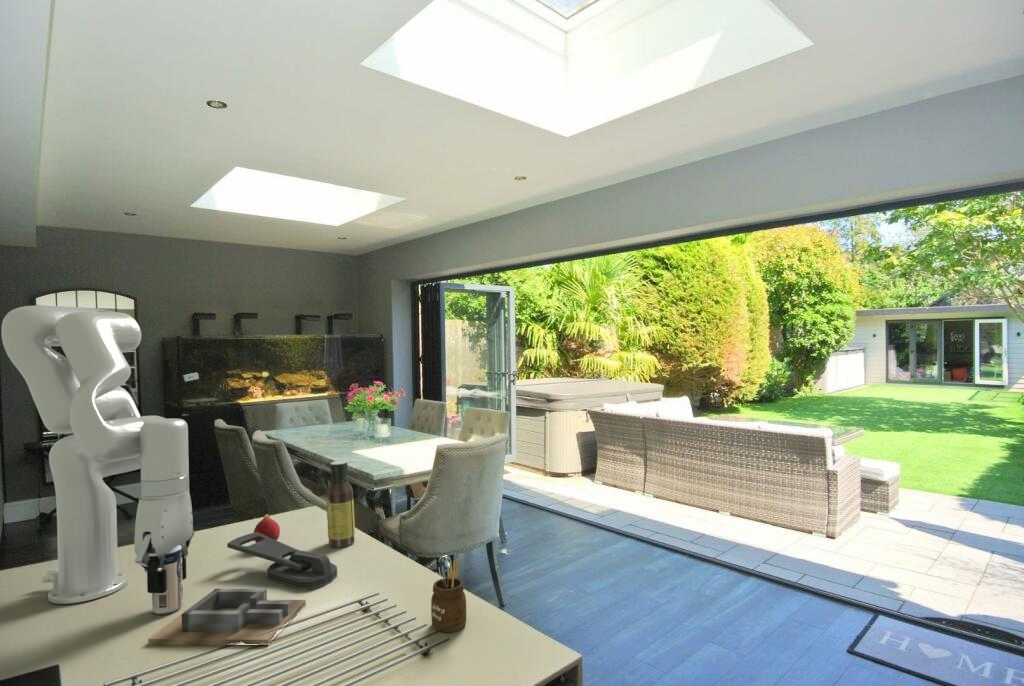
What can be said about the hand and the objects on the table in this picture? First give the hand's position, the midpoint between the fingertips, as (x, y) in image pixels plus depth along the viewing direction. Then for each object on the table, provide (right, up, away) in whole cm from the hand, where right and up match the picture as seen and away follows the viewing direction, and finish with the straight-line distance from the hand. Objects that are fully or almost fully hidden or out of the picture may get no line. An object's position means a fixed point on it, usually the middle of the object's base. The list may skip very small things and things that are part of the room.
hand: (167, 584), depth 103 cm
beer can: (0, -5, 0) cm, 5 cm away
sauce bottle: (+22, -4, +33) cm, 40 cm away
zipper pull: (+15, -5, +15) cm, 22 cm away
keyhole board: (+15, -4, -6) cm, 16 cm away
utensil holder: (+53, -4, -8) cm, 53 cm away
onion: (+5, -5, +31) cm, 32 cm away
